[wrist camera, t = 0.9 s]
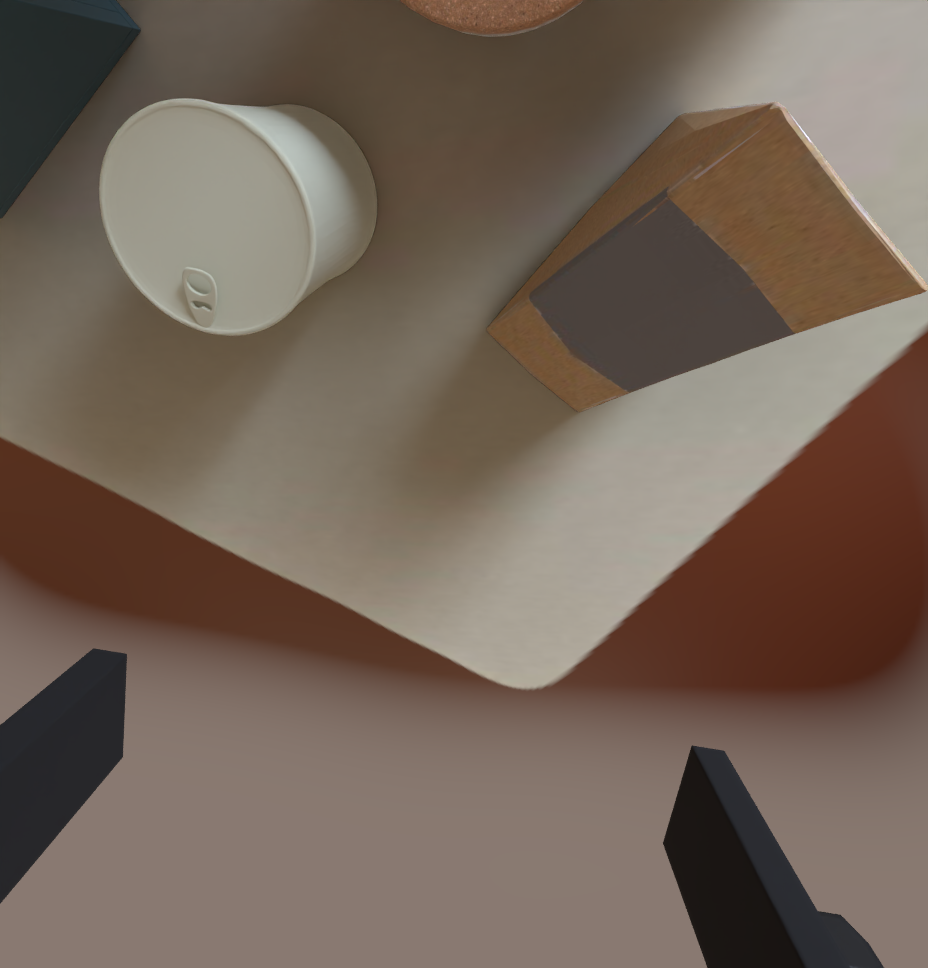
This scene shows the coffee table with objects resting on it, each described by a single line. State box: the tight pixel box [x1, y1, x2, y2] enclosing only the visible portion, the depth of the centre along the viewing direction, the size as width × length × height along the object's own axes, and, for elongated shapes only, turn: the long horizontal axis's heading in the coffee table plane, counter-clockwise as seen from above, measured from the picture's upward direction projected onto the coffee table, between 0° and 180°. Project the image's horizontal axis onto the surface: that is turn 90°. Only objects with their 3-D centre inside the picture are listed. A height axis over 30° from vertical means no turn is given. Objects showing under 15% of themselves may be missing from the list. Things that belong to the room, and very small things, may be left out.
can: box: [99, 98, 377, 336], centre depth 30 cm, size 9×9×12 cm
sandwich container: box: [486, 102, 928, 412], centre depth 30 cm, size 9×15×15 cm, turn 140°
